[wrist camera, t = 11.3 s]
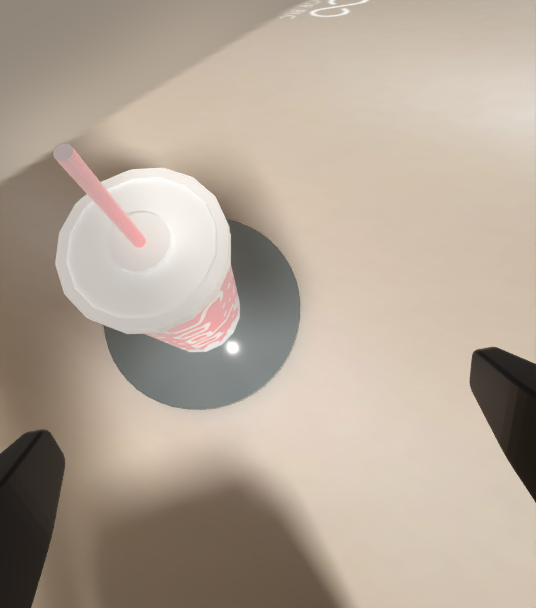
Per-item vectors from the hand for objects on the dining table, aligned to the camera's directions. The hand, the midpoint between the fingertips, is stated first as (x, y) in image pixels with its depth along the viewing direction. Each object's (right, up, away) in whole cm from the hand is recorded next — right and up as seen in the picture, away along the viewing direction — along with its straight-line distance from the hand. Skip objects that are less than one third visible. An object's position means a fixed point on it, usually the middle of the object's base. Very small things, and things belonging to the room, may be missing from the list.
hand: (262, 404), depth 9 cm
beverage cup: (-4, +2, +14) cm, 15 cm away
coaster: (-4, +2, +15) cm, 16 cm away
